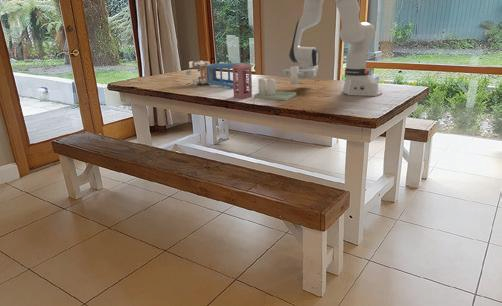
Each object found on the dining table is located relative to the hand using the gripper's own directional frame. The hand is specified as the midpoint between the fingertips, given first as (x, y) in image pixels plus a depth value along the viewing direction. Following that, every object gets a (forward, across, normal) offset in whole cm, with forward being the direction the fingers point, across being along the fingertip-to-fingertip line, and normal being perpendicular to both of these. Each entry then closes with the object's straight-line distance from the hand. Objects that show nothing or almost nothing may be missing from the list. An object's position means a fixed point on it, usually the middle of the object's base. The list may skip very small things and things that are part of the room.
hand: (293, 74), depth 226 cm
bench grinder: (-10, -63, +10) cm, 64 cm away
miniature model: (+21, -23, +11) cm, 33 cm away
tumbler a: (+16, -7, +11) cm, 20 cm away
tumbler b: (+16, -12, +10) cm, 23 cm away
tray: (+13, -6, +11) cm, 18 cm away
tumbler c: (-1, 0, +6) cm, 6 cm away
